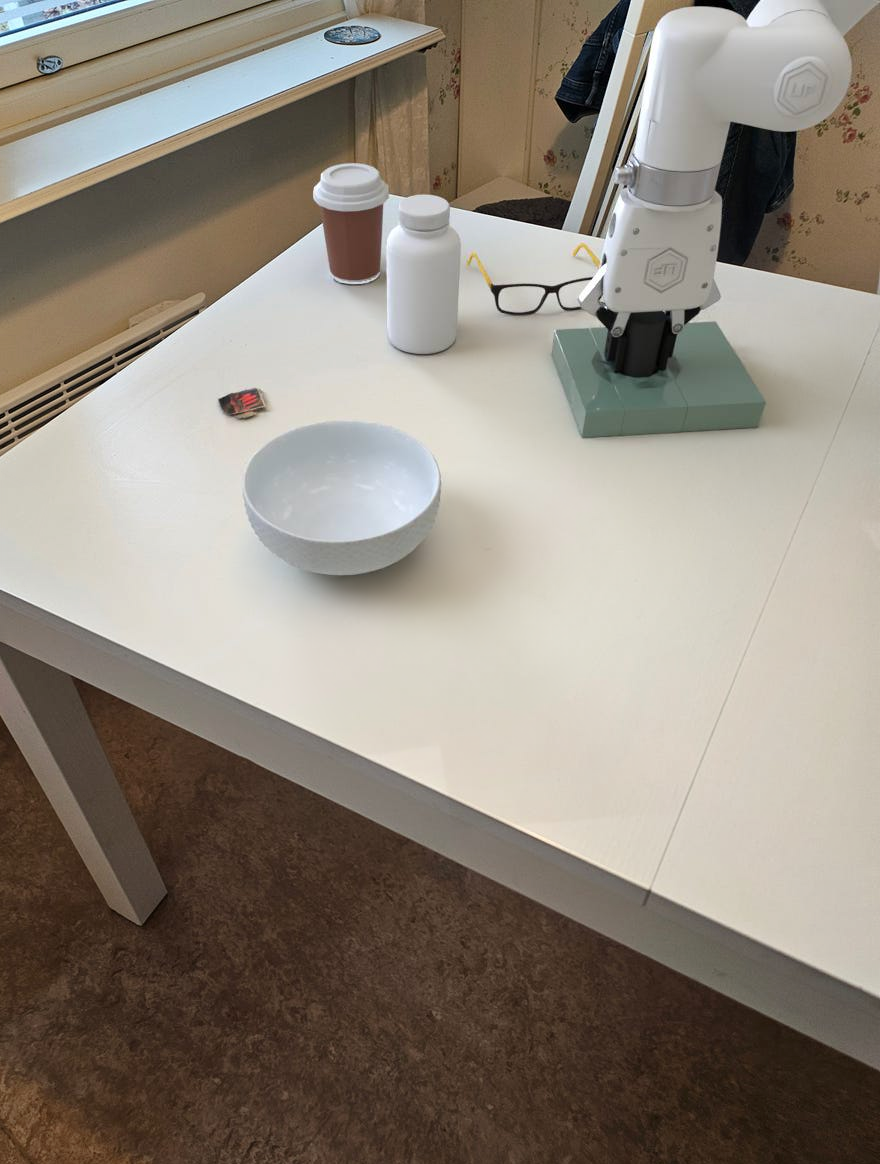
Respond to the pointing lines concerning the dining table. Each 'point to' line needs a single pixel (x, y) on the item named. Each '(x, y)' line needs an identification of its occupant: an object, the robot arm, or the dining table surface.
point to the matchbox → (242, 402)
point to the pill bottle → (423, 276)
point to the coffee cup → (352, 219)
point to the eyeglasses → (534, 285)
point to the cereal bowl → (342, 496)
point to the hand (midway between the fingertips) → (636, 362)
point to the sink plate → (657, 386)
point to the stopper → (643, 343)
